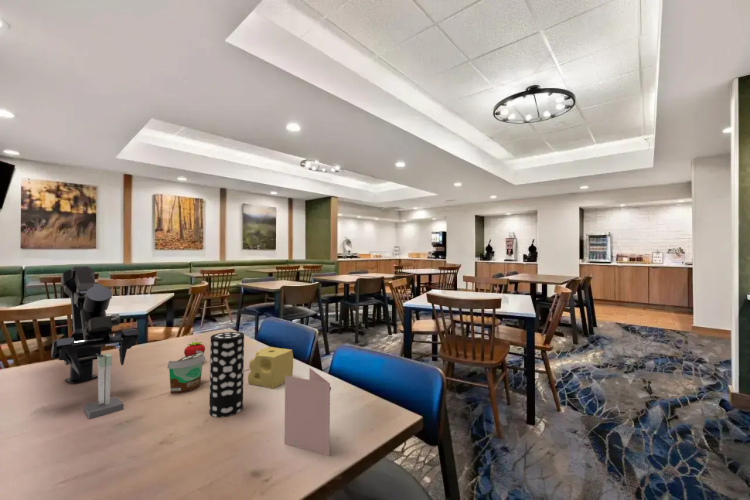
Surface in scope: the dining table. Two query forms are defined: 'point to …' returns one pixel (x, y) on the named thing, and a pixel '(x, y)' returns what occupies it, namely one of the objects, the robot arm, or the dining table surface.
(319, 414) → the greeting card
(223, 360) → the white-spotted black cylinder
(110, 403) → the stand
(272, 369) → the cheese
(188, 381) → the food container
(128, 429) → the dining table surface
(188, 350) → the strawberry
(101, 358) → the swinging tong arm
